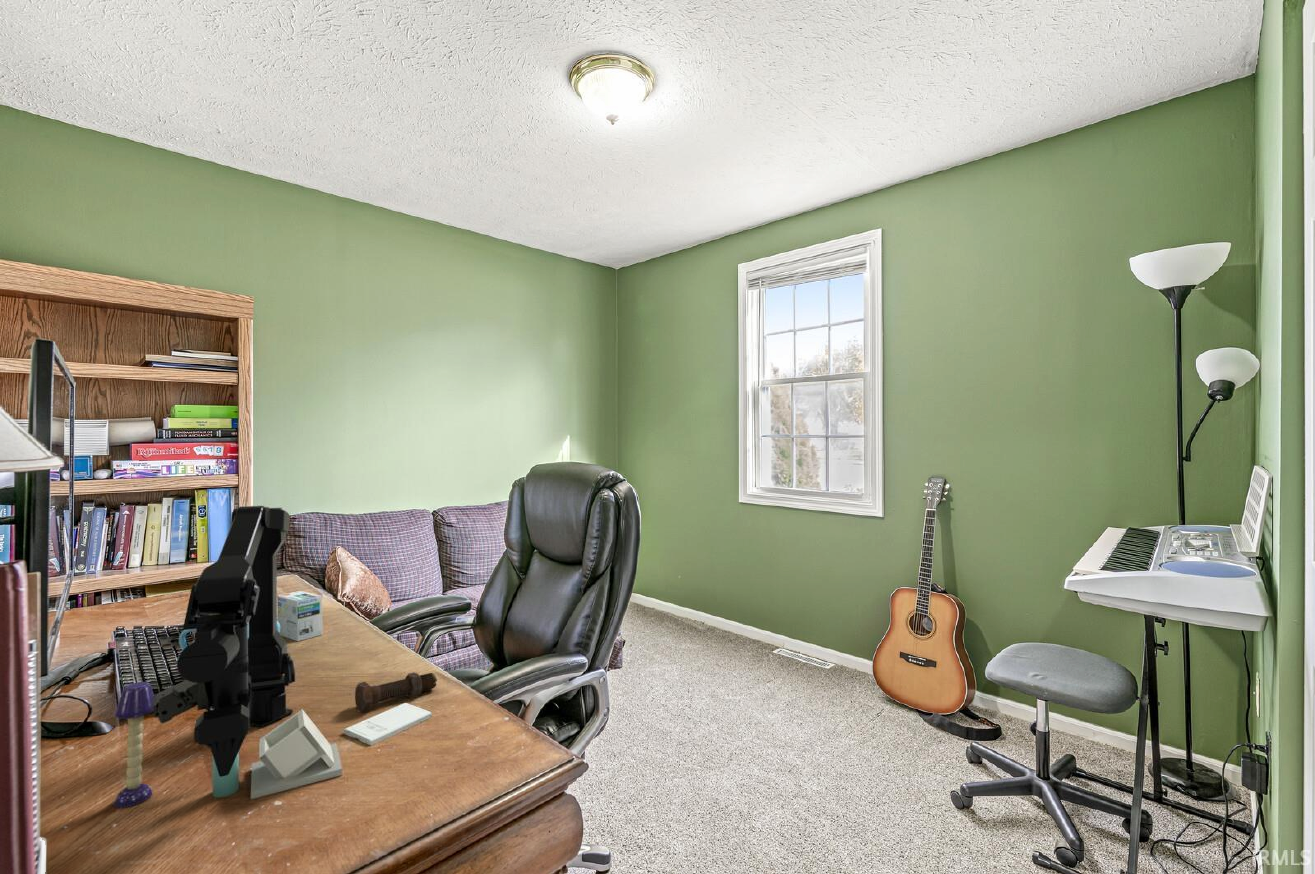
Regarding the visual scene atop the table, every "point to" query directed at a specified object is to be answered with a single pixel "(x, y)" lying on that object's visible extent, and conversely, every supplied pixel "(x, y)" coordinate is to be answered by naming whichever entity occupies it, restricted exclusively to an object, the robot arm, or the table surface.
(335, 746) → the socket
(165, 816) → the table surface
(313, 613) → the light bulb box
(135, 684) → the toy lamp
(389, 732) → the external hard drive
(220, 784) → the dowel
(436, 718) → the table surface
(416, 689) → the bolt
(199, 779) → the table surface
